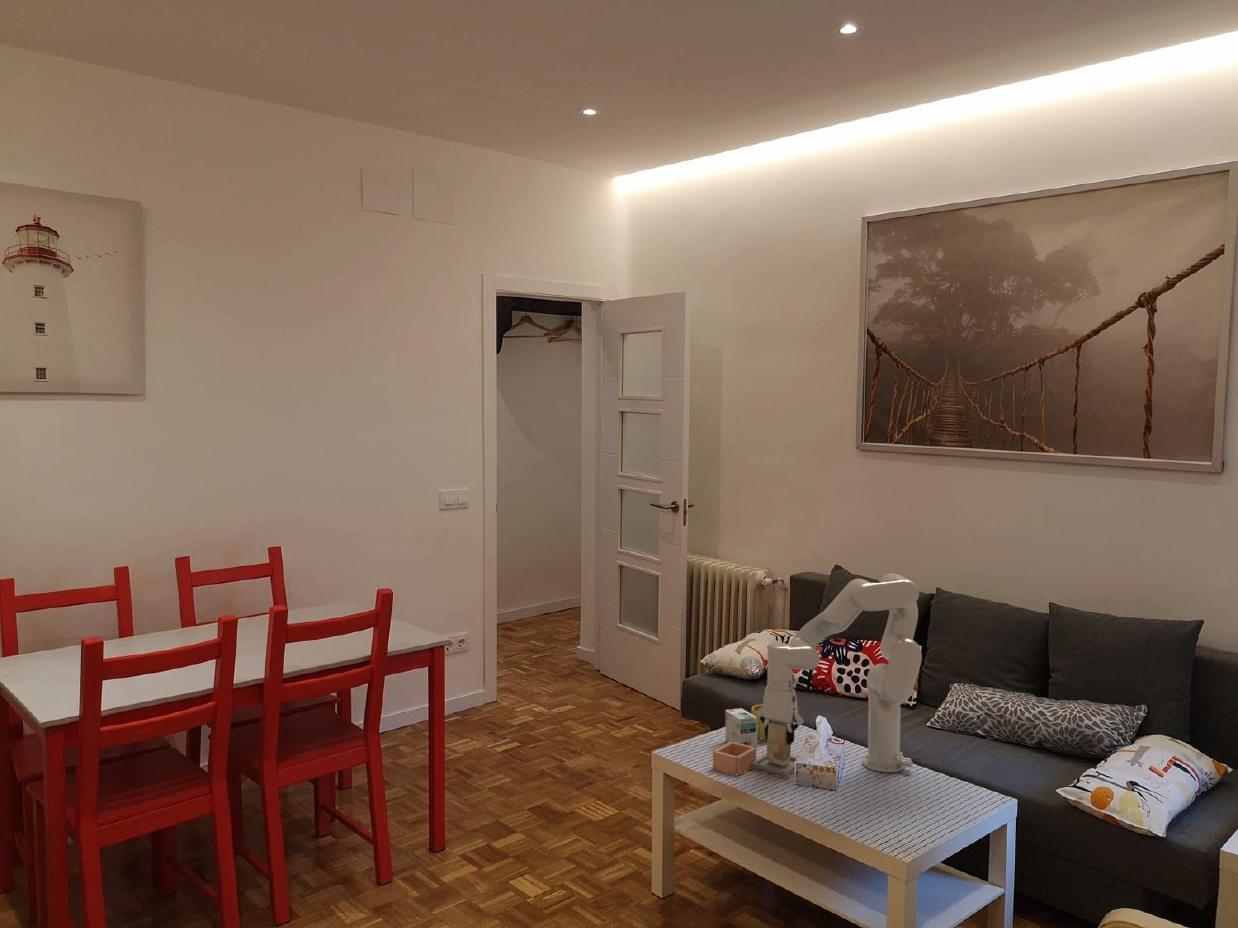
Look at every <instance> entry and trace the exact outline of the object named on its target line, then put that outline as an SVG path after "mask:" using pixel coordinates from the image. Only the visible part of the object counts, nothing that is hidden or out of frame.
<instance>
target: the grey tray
mask: <svg viewBox="0 0 1238 928" xmlns="http://www.w3.org/2000/svg"><path fill="white" fill-rule="evenodd" d="M796 758H798V757H796V756H793V755H790V763H788V764H786V765H784V766H781V765H778V764H775V763H773V762H770V761H767V753H766V754H764V755H762V756H760V757H758V758H756V760H755V761H754V762H752V763H751V769H754V770H753V771H755V770H757V771H756V772H759V771H762V772H766V773H768V774H767V775H770V774H771V776H774V775H778V776H781V777H785V778H787V779H789V778H788V776H789V775H792V774H793V773H794V771H795V764H794V762H795V760H796ZM751 769H750V770H751ZM762 772H761V773H762ZM766 773H765V774H766ZM793 775H794V774H793ZM793 775H792V776H793ZM781 777H780V778H781ZM785 778H784V779H785Z"/></svg>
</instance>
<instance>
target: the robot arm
mask: <svg viewBox="0 0 1238 928" xmlns="http://www.w3.org/2000/svg"><path fill="white" fill-rule="evenodd" d="M919 597H920V589H919V588H918V585H917V584H916V583H915V582H914V581H912V580H911V579H908V578H906V577H905V576H902V575H900V574H896V573H887V574H884V576H882V577H881V579H880V582H870V581H868V580H866V579H863V578H855V579H852V580H851V581H849V582H848V583H847V584H846V585H845V586H844V588H843V589H842V590H841V591H840V592H839V593H838V595H836V597H835V598H834V599H833V600H832V602H830V604H829V605H827V607H826V608H825V609H824V610H823V611H822V612H821V613H819V614H818V615H816V616H815V617H814V618H812V619H810V620H809V621H808V622H806V623H805V624H804V625H803V626H802V627H801V628H800V630H799V631H797V633H796V634H795V635H794V636H793V637H792V639H790V642H789V643H788V644H787V643H783V642H774V643H770V644H769V645H768V647H767V682H766V683H767V685H766V686H765V688H764V694H763V700H762V704H763V706H762V707H761V708H760V709H759V710H757V711H756V713H757V715H758V716H759V717H760V720H761V721H762V723H763V725H764V726H765V736H766V740H765V741H768V723H769V722H771V721H772V720H774V721H779V722H783V723H786V725H787V728H788V732H787V745H790V744H791V745H792V744H793V743H794V742H795V731H796V730H797V729H798V728H799V727H800V726H802V724H803V723H804V722H805V721H804V719H803V718H802V717H801V715H800V714H799V712H798V710H799V709H798V701H797V694H796V690H795V688H796V687H797V684H796V683H795V682H794V680H793V669H795V670H801V671H802V670H803V671H811V670H814V669H815V668H817V667H818V665H819V664H820V660H821V659H820V654H819V652H818V650H817V649H816V647H817V646H818V645H819V644H820V643H821V642H822V641H823V640H824V639H826V638H827V637H829V636H831V635H834V634H839V633H841V632H844V631H846V630H847V629H848V628H849V626H850V625H851V624H852V623H853V622H854V621H855V619H856V618H857V617H858V616H859V615H860V613H862V612H863V611H864V612H879V611H882V612H883V611H889V612H888V613H889V614H888V618H887V622H886V626H885V629H884V632H883V636H882V638H881V641H880V645H879V651H880V654H881V656H883V658H884V659H885V660H886V661H888V663H887V664H886V663H878V664H875V665H873V666H872V667H871V668H870V669H869V671H868V672H867V676H866V688H867V695H868V696H867V697H868V719H867V721H868V722H867V724H868V725H867V726H868V727H867V729H868V730H867V735H868V736H867V737H868V738H867V755H866V756H864V757H863V759H862V764H863V766H864V767H865V768H867V769H870V770H871V771H875V772H880V773H886V774H887V773H888V774H889V773H898V772H902V771H904V769H905V767H906V768H913V764H914V762H913V761H912V758H910V757H909V758H908V757H904V756H903V755H904V753H903V751H901V749H900V747H901V746H900V745H901V705H902V704H905V703H906V702H907V701H908V700H909V699H910V697H911V696H912V693H913V690H914V689H915V688H914V687H915V685H916V682H917V677H918V675H919V671H920V668H921V664H922V658H923V657H922V655H923V654H922V650H921V648H920V646H919V644H918V643H917V642H916V641H915V640H914V636H915V632H916V628H917V624H918V618H919V609H918V603H917V601H918V600H919ZM795 721H796V723H795Z"/></svg>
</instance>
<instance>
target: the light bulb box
mask: <svg viewBox="0 0 1238 928" xmlns="http://www.w3.org/2000/svg"><path fill="white" fill-rule="evenodd" d="M757 724H758V717H756V716H754V715H752V714H751V712H749V711H747V710H745V709H744V708H741V707H740V708H733V709H725V733H724V734H725V740H724V741H725V742H726V741H727V743H728V742H736V743H740V744H744V745H748V746H752V747H754V748H757V749H758V738H757Z"/></svg>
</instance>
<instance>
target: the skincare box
mask: <svg viewBox="0 0 1238 928" xmlns="http://www.w3.org/2000/svg"><path fill="white" fill-rule="evenodd" d="M787 732H788V728H787V725H786V723H783V722H779V721H771V722H769V723H768V740H766V743H767V744H766V745H767V746H766V754H767V761H770V762H773V763H775V764H778V765H781V766H784V765H786V764H788V763H790V756H791V753H792V751H791V749H792V748H791V747H792V744H790V745H787Z"/></svg>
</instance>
